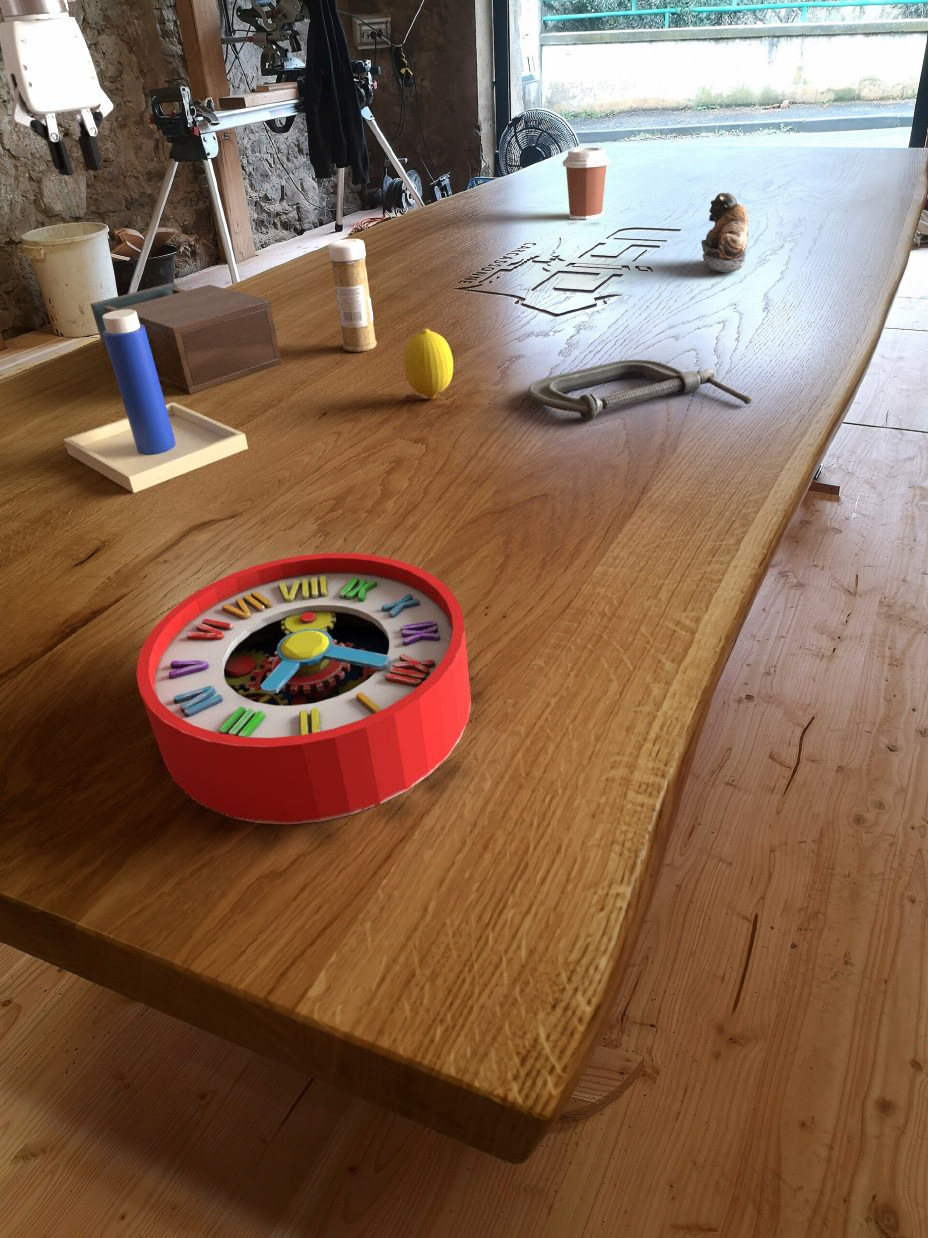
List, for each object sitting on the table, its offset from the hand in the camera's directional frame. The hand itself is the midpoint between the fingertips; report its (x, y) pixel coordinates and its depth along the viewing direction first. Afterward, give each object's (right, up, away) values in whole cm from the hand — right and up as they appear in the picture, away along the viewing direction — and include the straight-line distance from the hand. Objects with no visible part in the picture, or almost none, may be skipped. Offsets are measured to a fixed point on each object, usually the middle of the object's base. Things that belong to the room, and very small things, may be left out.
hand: (80, 170), depth 120 cm
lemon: (+48, -35, -16) cm, 61 cm away
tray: (+19, -42, -24) cm, 52 cm away
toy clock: (+42, -66, -61) cm, 99 cm away
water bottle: (+19, -42, -24) cm, 52 cm away
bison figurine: (+92, -5, +22) cm, 95 cm away
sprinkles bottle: (+37, -24, +1) cm, 44 cm away
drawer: (+9, -21, +5) cm, 24 cm away
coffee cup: (+76, +21, +61) cm, 100 cm away
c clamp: (+69, -36, -21) cm, 81 cm away
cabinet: (+18, -27, -2) cm, 32 cm away
